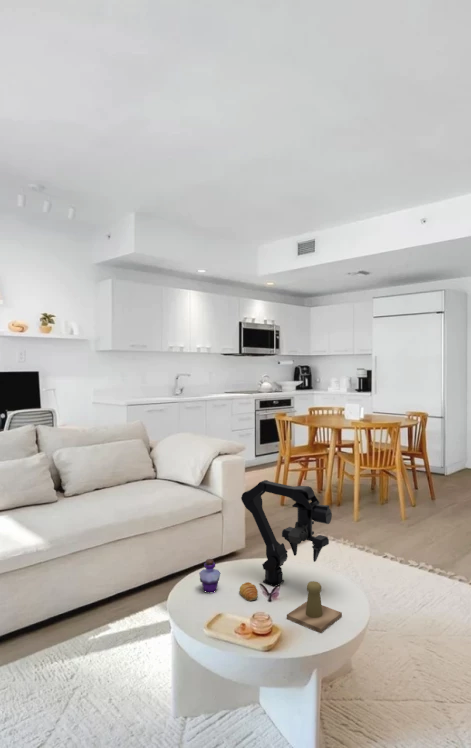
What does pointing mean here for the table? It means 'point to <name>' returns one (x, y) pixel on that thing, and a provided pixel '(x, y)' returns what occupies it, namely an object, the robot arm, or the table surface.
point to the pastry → (248, 591)
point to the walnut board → (314, 623)
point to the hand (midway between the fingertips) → (304, 558)
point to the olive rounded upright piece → (314, 600)
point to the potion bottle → (209, 576)
